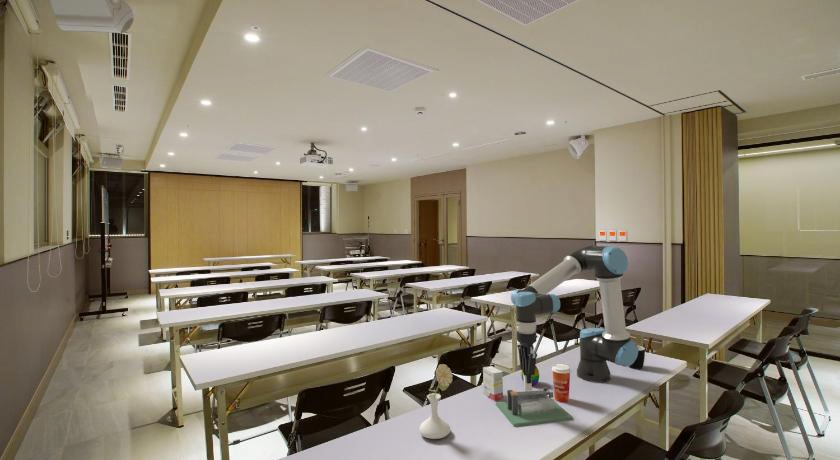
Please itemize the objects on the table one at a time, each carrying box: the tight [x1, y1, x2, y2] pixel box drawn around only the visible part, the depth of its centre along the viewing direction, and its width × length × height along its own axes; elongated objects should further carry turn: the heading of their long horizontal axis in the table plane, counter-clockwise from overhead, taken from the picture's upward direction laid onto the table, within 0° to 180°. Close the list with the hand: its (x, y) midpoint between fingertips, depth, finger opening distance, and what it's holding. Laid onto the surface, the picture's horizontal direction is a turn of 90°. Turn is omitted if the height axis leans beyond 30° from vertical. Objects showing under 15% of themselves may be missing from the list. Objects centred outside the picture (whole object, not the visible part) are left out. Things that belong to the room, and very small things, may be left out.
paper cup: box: [551, 363, 572, 403], centre depth 169 cm, size 8×8×14 cm
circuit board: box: [495, 400, 573, 427], centre depth 159 cm, size 24×18×1 cm
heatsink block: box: [517, 387, 555, 417], centre depth 159 cm, size 15×10×7 cm
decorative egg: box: [520, 364, 540, 386], centre depth 186 cm, size 8×8×10 cm
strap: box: [510, 389, 550, 397], centre depth 158 cm, size 17×3×1 cm, turn 101°
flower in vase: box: [418, 363, 454, 440], centre depth 144 cm, size 13×11×25 cm
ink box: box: [482, 365, 504, 402], centre depth 173 cm, size 9×5×12 cm, turn 24°
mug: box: [627, 344, 646, 370], centre depth 204 cm, size 12×9×10 cm
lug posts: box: [506, 389, 518, 415], centre depth 157 cm, size 2×5×8 cm, turn 11°
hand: (527, 390), depth 158 cm, fingers closed
